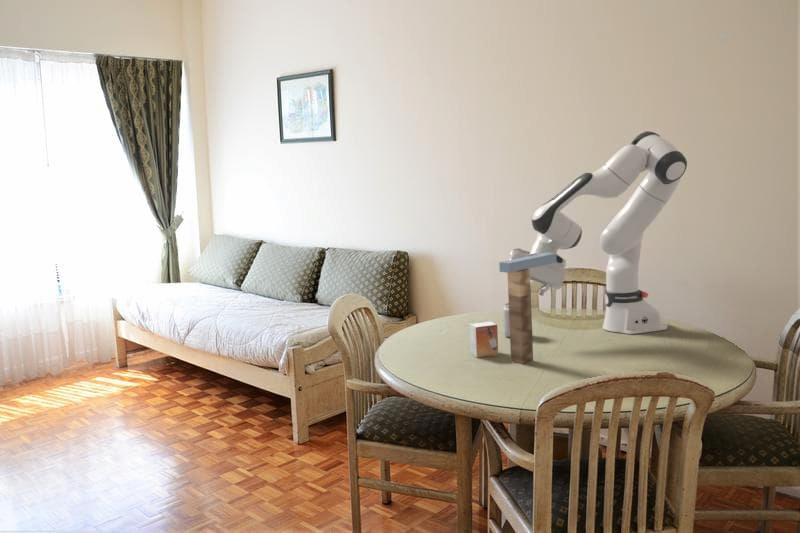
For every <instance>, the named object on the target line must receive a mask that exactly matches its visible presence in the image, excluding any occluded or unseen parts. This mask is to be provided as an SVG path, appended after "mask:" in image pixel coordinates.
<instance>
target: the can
mask: <svg viewBox="0 0 800 533" xmlns="http://www.w3.org/2000/svg"><path fill="white" fill-rule="evenodd" d="M502 308H503V309H502V317H503V321H502V322H503V335H504V336H505V337H506V336H507V338H508V337H510V323H509V302H507V303H505V304H504V307H502Z"/></svg>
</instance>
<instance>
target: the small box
mask: <svg viewBox="0 0 800 533" xmlns="http://www.w3.org/2000/svg"><path fill="white" fill-rule="evenodd" d="M498 337H499V336H498V324H496V323H495V322H493V321H492V320H490V321H485V322H479V323H469V338H470V340H469V341H470V343H469V344H470V354H471V355H472V356H474V357H476V358H482V357H489V356H491V355H492V356H497V354H498V355H499V338H498Z"/></svg>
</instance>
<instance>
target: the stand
mask: <svg viewBox="0 0 800 533" xmlns="http://www.w3.org/2000/svg"><path fill="white" fill-rule="evenodd" d="M507 291H508V292H507V294H508V303H509V323H510V338H509V344H510V347H509V348H510V362H512V361H513V363H516V364H519V365H524V364H528V363H531V362H533V361H534V348H533V346H534V345H533V321H532V320H533V318H532V315H533V314H532V312H533V311H532V290H531V280H530V269H525V270H520V271H515V272H511V273H507ZM530 361H531V362H530ZM527 362H528V363H527Z"/></svg>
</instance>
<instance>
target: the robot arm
mask: <svg viewBox="0 0 800 533" xmlns="http://www.w3.org/2000/svg"><path fill="white" fill-rule="evenodd" d="M604 163H605V164H603V166H601V167H600V168H598V169H597V170H595V171H592V172H584V173H582V174H581V175H580V176H578V177H576V179H574V180H573V181H571V183H569V184H568V185H567V186H565V187H564V188H562V190H560V191H559V192H558V193H557V194H556V195H554V196H553V197H551V199H549V200H548V201H546V202H545V203H543V204H541V205H540V206H539V207H538V208H536V209H535V211H534V212H533V213H532V216H531V223H532V224H531V225H532V228H533V230H534V231H536V232H537V235H536V238H535V241H534V242H533V244H532V247H531V248H530V251H528V250H525V249H524V250H523V249H522V248H520V247H519V248H518V247H517V248H513V249H512V250H511V253H510V256H509V257H510V258H509V259H508V260H512V259H517V258H522V257H527V256H532V255H537V254H542V253H546V252H548V253H556V263H552V264H547V265H543V266H538V267H534V268H529V269H530V281H534V282H536V283H539V284H541V285H544V286H545V287H544V288H540V292H539V295H540V296H541V297H544V296H545V293H546V292H548V291H549V290H550V288H553V289H555V290H560V289H561V288H562V286H563V284H564V280H565V276H566V266H567V260H565V258H563V257H561V256H560V255H559V254H558V253H557V252H558V251H559V250H568V249H572V248H575V247H576V246H578V245H579V242H580V241H581V239H582V235H583V230H582V227H581V226H580V225H579V224H578V223H577V222H576V221H574V220H573V219H572V218H569V217H568V216H566V215H565V214H564V213H563V212H561V211H562V210H563V209H564V208H565V207H567V206H568V205H569V204H570V203H571V202H573V201H574V200H575V199H577V198H578V197H579V196H583V195H585V196H586V195H589V196H594V197H598V198H602V199H615V198H618V197H619V196H622V195H623V194H624V193H626V191H627V190H628V189H629V187H630V186H632V184H633V183H634V182H635V181H636V180H637V178H638V177H639V176H640V174H641V173H643V172H645V171H648V173H647V175H646V176H645V177H644V178H643V179H642V181H641V182H640V183H639V185H638V186H637V188H636V189H635V191H634V192H633V193H632V195H631V196H630V197H629V199H628V200H627V202H626V203H625V204H624V205H623V207H622V208H621V209H620V210H619V211H618V212H617V214H616V215H615V216H614V217H613V218H612V220H611V221H610V223H609V224H607V226H606V227H605V229H604V230H603V231H602V232H601V234H600V237H599V245H600V248H601V250H602V251H603V252H604V253H606V254H608V261H607V262H608V263H607V265H606V269H605V272H606V273H605V276H606V277H605V278H606V280H605V284H606V289H605V292H604V293H605V294H604V303H605V314H604V319H603V323H602V329H603V330H605V331H608V332H613V333H622V334H626V335H635V334H643V333H651V332H660V331H665V330H668V324H667V323H666V322H664V321H662V319H661V315H660V312H659V310H658V309H657V308H656V307H655V306H653V305H652V304H650V303H649V302H647V301H646V300H644V298H645V299H647V298H648V296H649V293H648V292H647V291H643V290H640V289H639V264H640V256H641V250H642V240H643V234H644V232H645V231H646V230H647V228H649V226H650V225H651V224H652V223H653V222H654V221H655V219H657V217H658V215H659V214H660V212H661V211H662V210H663V208H664V207H665V206H666V205H667V203H668V202H669V201H670V199H671V198H672V196H673V194H674V192H675V191H676V189H677V187H678V186H679V182H680V180H681V178H682V176H683V175H685V172H686V170H687V167H688V161H687V158H686V157H685V155H684V154H683V153H682V152H681V151H680V150H678V148H677V147H676V146H674V145H673V144H672V143H671V142H670V141H667V140H666V139H665V138H663V137H661V135H660V134H658V133H656V132H654V131H648V130H647V131H644V132H641V133H639V134H638V135H636V137H635V138H633V140H632V141H631V143H630V144H626V145H624V146H623V147H622V148H620V149H619V150H618V151H617V152H615V153H614V154H613V155H612V156H611V157H610V158H609V159H608V160H607V161H606V162H604Z"/></svg>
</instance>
